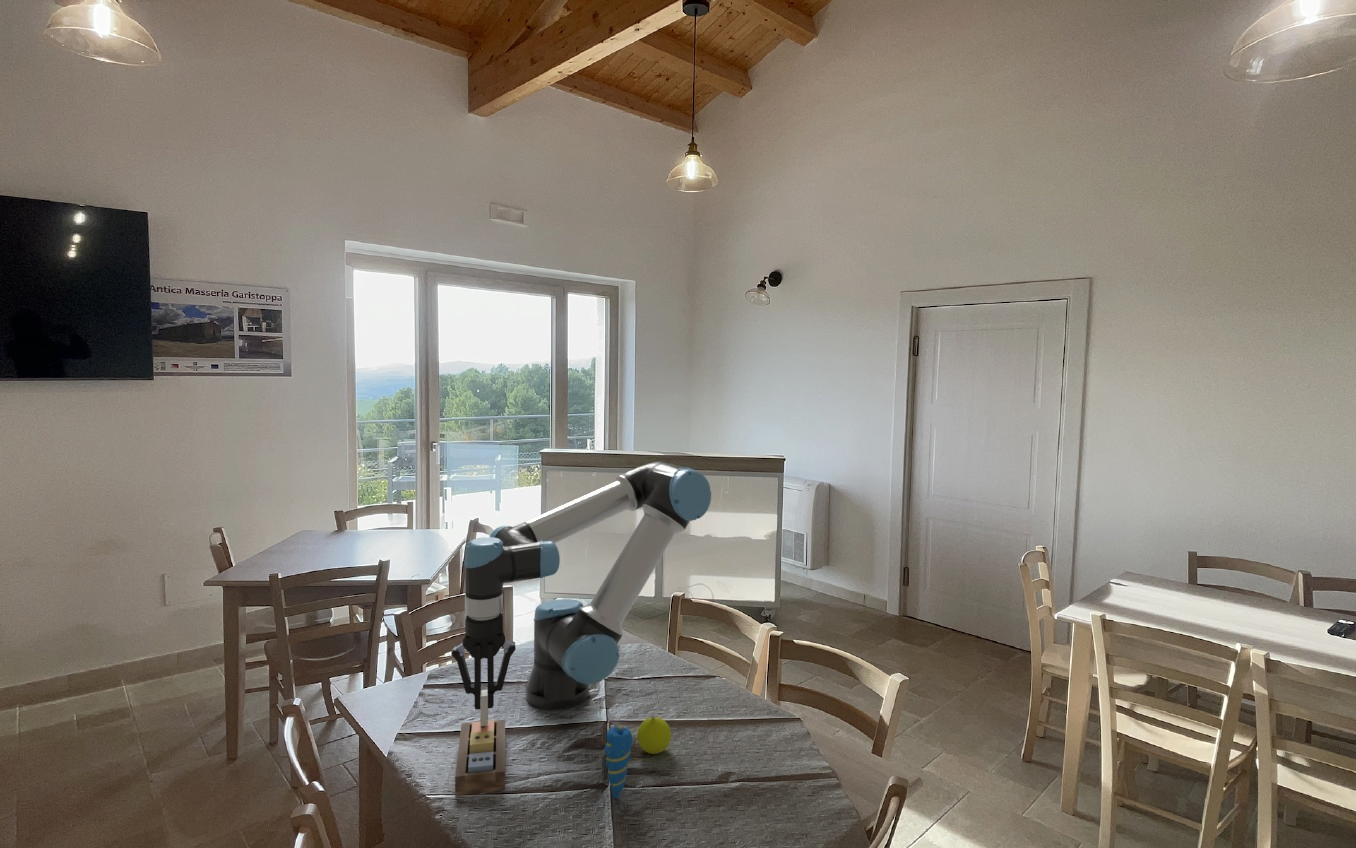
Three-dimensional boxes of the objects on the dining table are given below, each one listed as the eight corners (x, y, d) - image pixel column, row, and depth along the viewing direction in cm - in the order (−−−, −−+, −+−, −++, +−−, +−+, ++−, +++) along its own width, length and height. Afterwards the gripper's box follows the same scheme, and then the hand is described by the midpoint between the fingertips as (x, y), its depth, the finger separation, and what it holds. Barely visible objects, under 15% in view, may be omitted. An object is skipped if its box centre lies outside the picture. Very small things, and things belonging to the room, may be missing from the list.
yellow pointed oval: (644, 764, 140) (645, 717, 139) (631, 746, 147) (633, 701, 146) (675, 756, 143) (677, 710, 142) (662, 739, 150) (663, 695, 149)
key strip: (504, 736, 149) (505, 719, 148) (504, 790, 130) (505, 771, 130) (461, 740, 146) (461, 723, 146) (455, 796, 128) (455, 776, 128)
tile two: (493, 744, 141) (493, 729, 141) (493, 756, 136) (493, 741, 136) (470, 746, 140) (470, 732, 139) (469, 759, 135) (469, 744, 135)
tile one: (494, 733, 147) (494, 719, 146) (493, 745, 142) (493, 730, 142) (472, 735, 146) (472, 721, 145) (471, 747, 141) (471, 732, 141)
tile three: (493, 766, 135) (493, 751, 135) (492, 780, 131) (492, 764, 130) (469, 768, 134) (469, 753, 134) (468, 782, 130) (468, 766, 129)
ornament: (603, 790, 131) (605, 715, 130) (630, 789, 132) (632, 715, 130) (603, 807, 126) (605, 730, 125) (631, 807, 127) (633, 729, 125)
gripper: (516, 605, 147) (515, 710, 149) (452, 609, 143) (452, 716, 146) (516, 618, 139) (516, 728, 142) (449, 622, 136) (450, 735, 139)
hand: (484, 722), depth 144 cm, fingers closed
